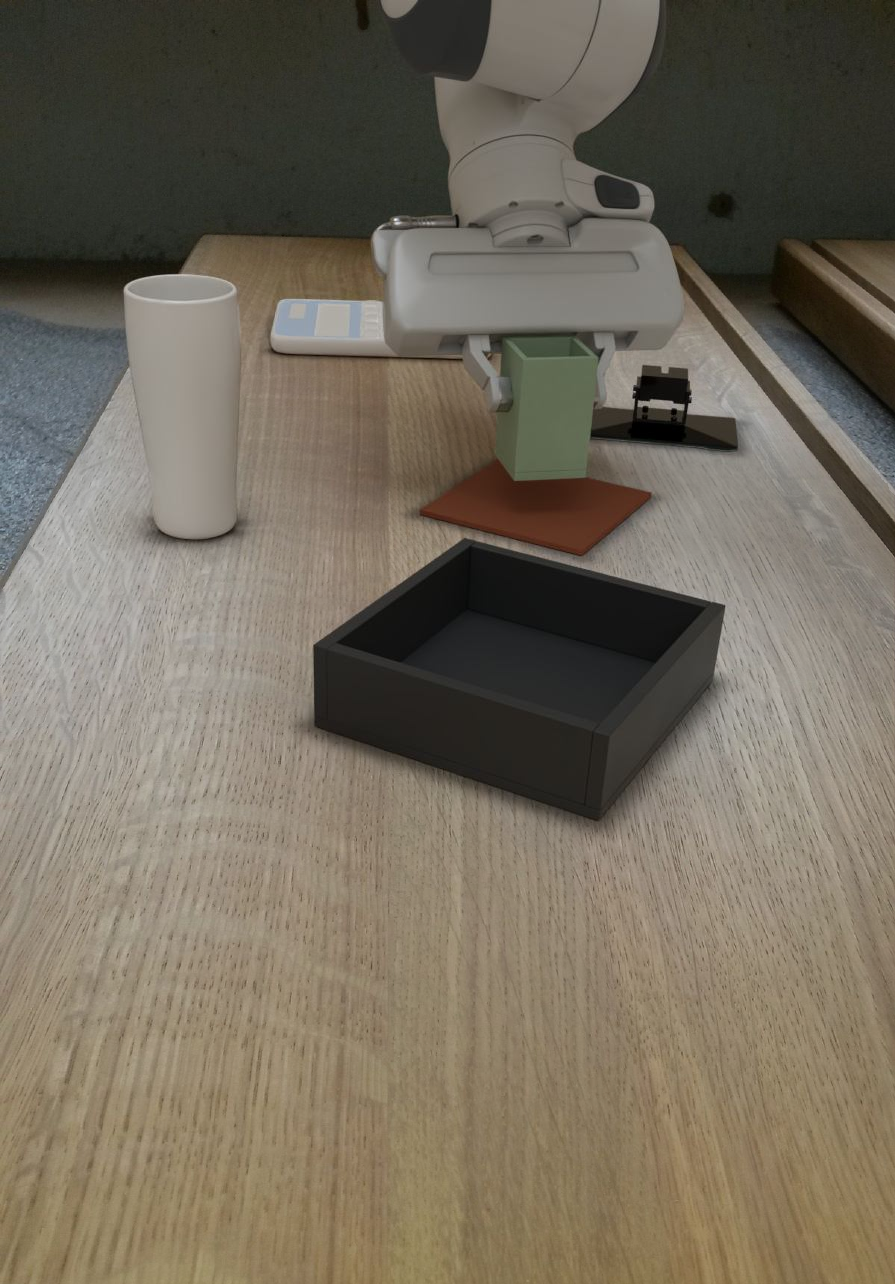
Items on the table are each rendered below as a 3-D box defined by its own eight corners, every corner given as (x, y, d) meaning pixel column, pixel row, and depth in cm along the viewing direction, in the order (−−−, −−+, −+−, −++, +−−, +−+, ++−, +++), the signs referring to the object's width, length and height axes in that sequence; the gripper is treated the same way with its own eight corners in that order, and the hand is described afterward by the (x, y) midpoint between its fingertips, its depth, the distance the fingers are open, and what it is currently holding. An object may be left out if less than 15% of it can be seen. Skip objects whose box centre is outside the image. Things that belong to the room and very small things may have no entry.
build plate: (734, 423, 110) (744, 366, 108) (737, 454, 104) (748, 394, 102) (582, 408, 111) (588, 351, 109) (576, 438, 105) (583, 378, 103)
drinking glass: (177, 556, 84) (158, 308, 76) (124, 521, 88) (100, 282, 80) (269, 532, 88) (260, 292, 80) (213, 499, 92) (200, 268, 84)
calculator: (494, 361, 121) (495, 339, 120) (269, 354, 120) (268, 333, 119) (484, 321, 132) (485, 300, 131) (278, 314, 131) (277, 294, 130)
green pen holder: (563, 452, 94) (574, 335, 90) (586, 478, 90) (598, 357, 86) (494, 454, 93) (502, 337, 89) (514, 481, 89) (523, 359, 85)
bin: (713, 681, 74) (726, 604, 71) (598, 821, 62) (609, 735, 60) (460, 610, 80) (464, 537, 77) (314, 726, 68) (312, 644, 66)
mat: (651, 497, 96) (651, 492, 95) (581, 556, 87) (582, 550, 87) (499, 462, 100) (500, 457, 100) (419, 514, 91) (419, 509, 91)
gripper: (373, 187, 86) (401, 388, 84) (674, 188, 91) (708, 379, 88) (360, 245, 92) (385, 434, 90) (643, 243, 97) (674, 423, 94)
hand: (548, 407), depth 89 cm, fingers closed on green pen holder, 5 cm apart
